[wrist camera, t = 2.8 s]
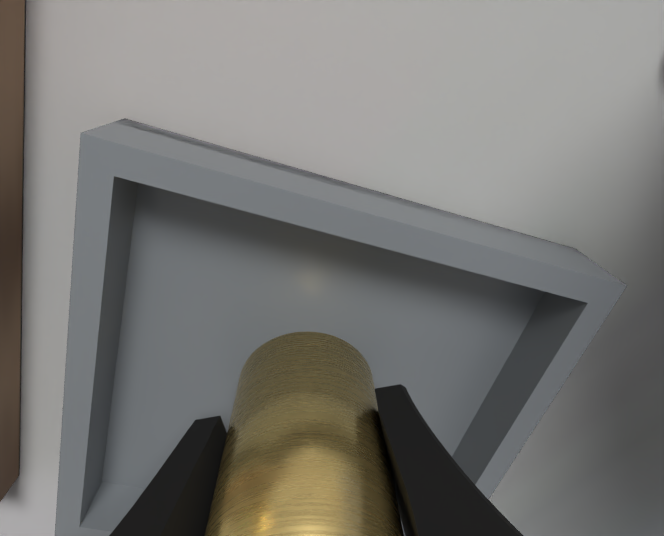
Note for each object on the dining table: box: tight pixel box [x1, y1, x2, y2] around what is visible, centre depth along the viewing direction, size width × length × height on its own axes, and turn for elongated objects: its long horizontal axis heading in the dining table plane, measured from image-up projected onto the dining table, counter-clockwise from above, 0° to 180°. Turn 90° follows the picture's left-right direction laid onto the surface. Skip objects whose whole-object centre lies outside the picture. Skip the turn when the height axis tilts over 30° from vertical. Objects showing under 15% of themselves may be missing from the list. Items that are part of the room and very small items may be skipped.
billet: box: [205, 332, 404, 536], centre depth 9 cm, size 4×4×7 cm
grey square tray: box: [55, 119, 627, 536], centre depth 12 cm, size 11×11×2 cm
